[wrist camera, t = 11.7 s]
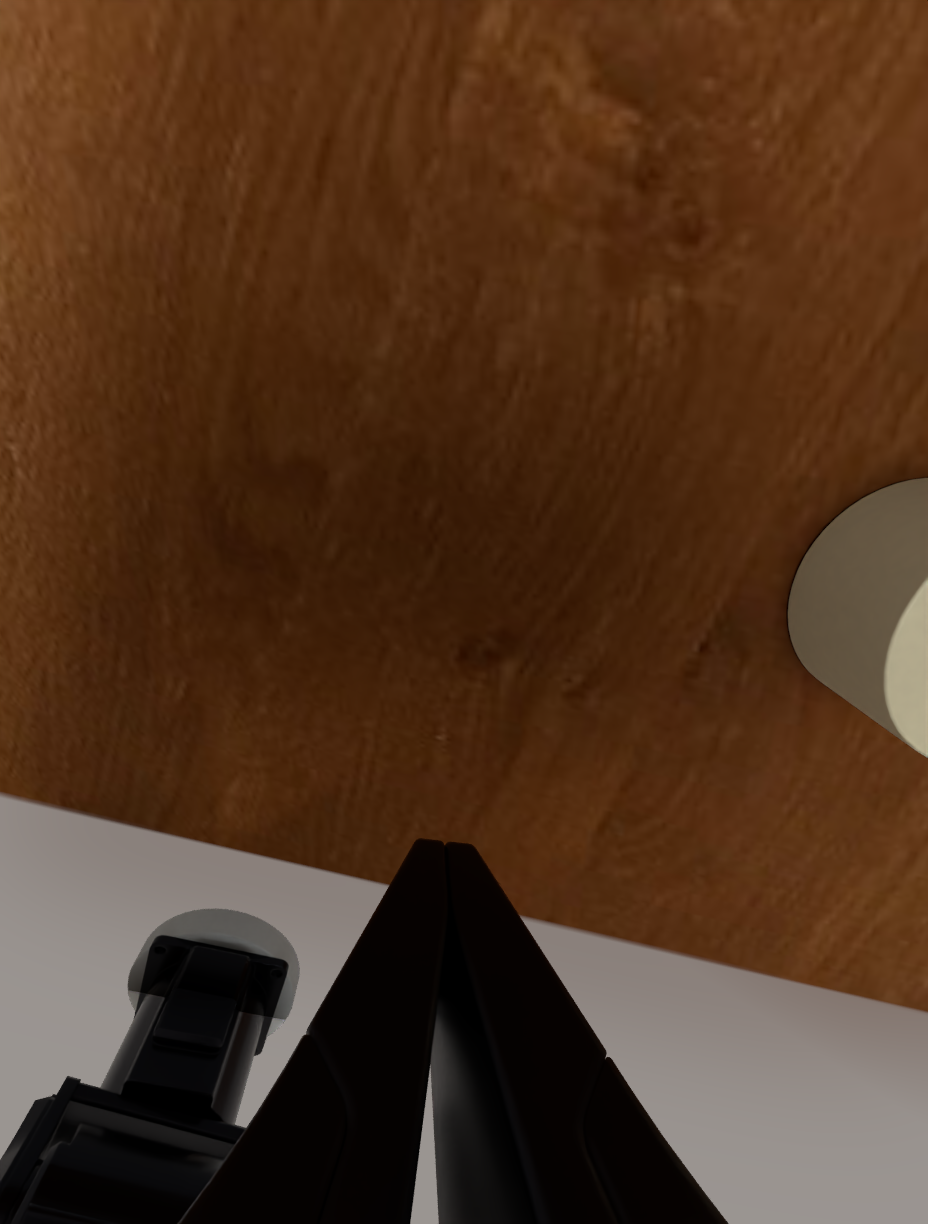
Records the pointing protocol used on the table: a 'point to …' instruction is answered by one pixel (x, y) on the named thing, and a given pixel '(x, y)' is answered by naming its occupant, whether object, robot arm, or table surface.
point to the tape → (870, 609)
